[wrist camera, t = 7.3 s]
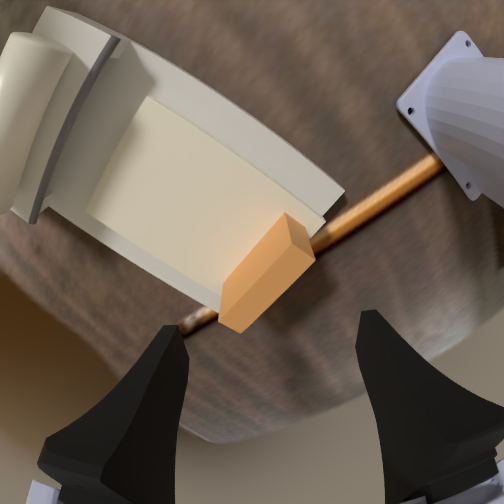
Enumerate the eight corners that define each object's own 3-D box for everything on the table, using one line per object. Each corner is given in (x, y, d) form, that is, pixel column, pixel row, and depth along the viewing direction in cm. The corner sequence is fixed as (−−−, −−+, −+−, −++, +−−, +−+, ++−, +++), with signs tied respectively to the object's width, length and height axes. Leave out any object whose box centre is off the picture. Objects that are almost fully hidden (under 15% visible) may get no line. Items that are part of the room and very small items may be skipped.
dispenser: (340, 185, 19) (382, 241, 12) (227, 308, 23) (220, 387, 17) (78, 13, 12) (5, -3, 6) (10, 167, 17) (-56, 207, 11)
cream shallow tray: (323, 217, 18) (341, 253, 15) (242, 303, 21) (241, 348, 18) (150, 95, 15) (120, 100, 11) (89, 207, 18) (56, 239, 14)
